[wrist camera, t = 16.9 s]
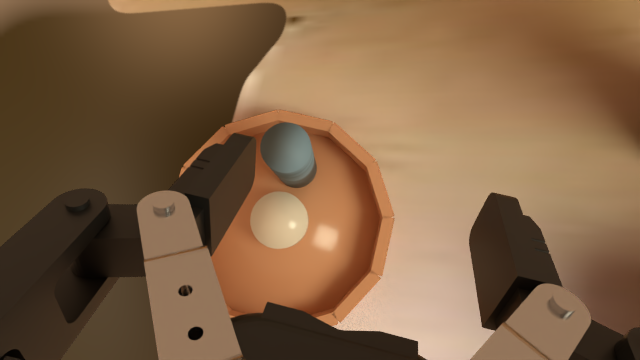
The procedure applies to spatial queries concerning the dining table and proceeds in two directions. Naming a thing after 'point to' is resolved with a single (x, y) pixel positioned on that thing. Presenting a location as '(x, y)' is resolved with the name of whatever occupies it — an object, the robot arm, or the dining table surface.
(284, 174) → the bead peg
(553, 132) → the dining table surface
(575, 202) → the dining table surface
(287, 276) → the ring tray
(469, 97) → the dining table surface
